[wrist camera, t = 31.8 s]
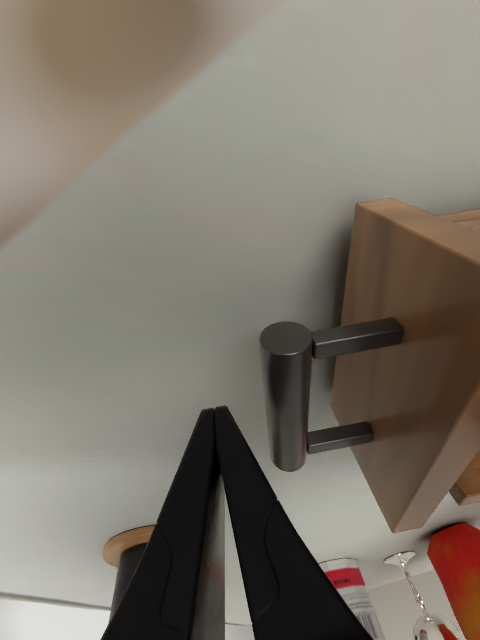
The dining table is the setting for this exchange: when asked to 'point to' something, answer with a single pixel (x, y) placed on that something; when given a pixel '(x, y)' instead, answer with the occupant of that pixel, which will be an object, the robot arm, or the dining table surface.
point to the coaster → (125, 543)
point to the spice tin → (126, 572)
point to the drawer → (392, 363)
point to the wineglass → (430, 629)
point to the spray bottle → (353, 592)
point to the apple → (459, 573)
